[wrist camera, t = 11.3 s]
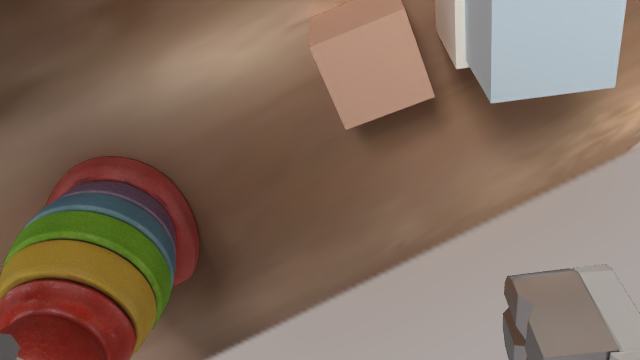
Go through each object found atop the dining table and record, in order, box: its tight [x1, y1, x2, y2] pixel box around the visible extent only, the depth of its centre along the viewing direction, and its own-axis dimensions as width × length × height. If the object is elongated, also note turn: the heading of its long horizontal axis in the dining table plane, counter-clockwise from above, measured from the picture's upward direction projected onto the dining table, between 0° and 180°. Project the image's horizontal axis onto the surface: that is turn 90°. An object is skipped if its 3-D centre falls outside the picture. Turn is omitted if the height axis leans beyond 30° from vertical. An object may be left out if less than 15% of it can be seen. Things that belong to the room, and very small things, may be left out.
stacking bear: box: [0, 157, 199, 360], centre depth 33 cm, size 11×10×18 cm
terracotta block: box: [309, 0, 435, 130], centre depth 32 cm, size 5×5×5 cm
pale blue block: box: [465, 0, 627, 103], centre depth 25 cm, size 5×5×5 cm
